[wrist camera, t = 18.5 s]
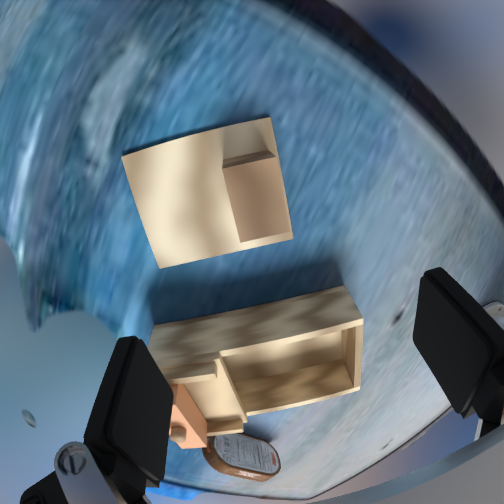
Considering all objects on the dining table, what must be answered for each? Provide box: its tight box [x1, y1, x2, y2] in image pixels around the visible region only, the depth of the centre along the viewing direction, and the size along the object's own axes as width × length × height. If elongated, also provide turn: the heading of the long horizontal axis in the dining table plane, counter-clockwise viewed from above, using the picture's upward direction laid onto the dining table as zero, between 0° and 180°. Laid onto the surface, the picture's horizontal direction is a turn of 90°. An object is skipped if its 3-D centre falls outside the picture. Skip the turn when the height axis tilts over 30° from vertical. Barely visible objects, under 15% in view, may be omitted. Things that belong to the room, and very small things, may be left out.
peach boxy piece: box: [169, 384, 207, 449], centre depth 27 cm, size 3×9×5 cm, turn 12°
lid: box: [122, 117, 293, 269], centre depth 25 cm, size 14×12×6 cm
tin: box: [202, 433, 281, 482], centre depth 42 cm, size 15×3×8 cm, turn 50°
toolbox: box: [147, 285, 363, 436], centre depth 32 cm, size 22×12×8 cm, turn 102°
